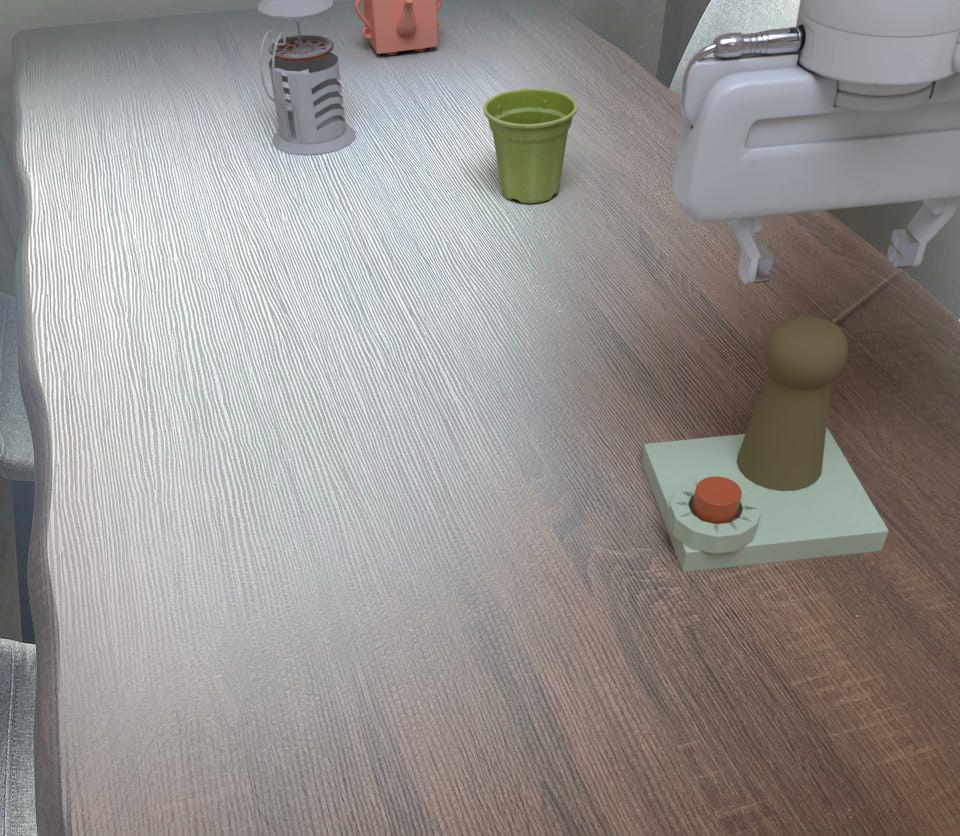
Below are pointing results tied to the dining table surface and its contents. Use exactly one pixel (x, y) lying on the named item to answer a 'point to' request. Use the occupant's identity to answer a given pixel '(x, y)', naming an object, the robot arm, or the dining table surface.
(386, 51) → the teapot
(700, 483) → the red push button
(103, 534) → the dining table surface
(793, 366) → the cork
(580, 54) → the dining table surface
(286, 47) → the french press
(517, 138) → the plant pot
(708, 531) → the red button base
